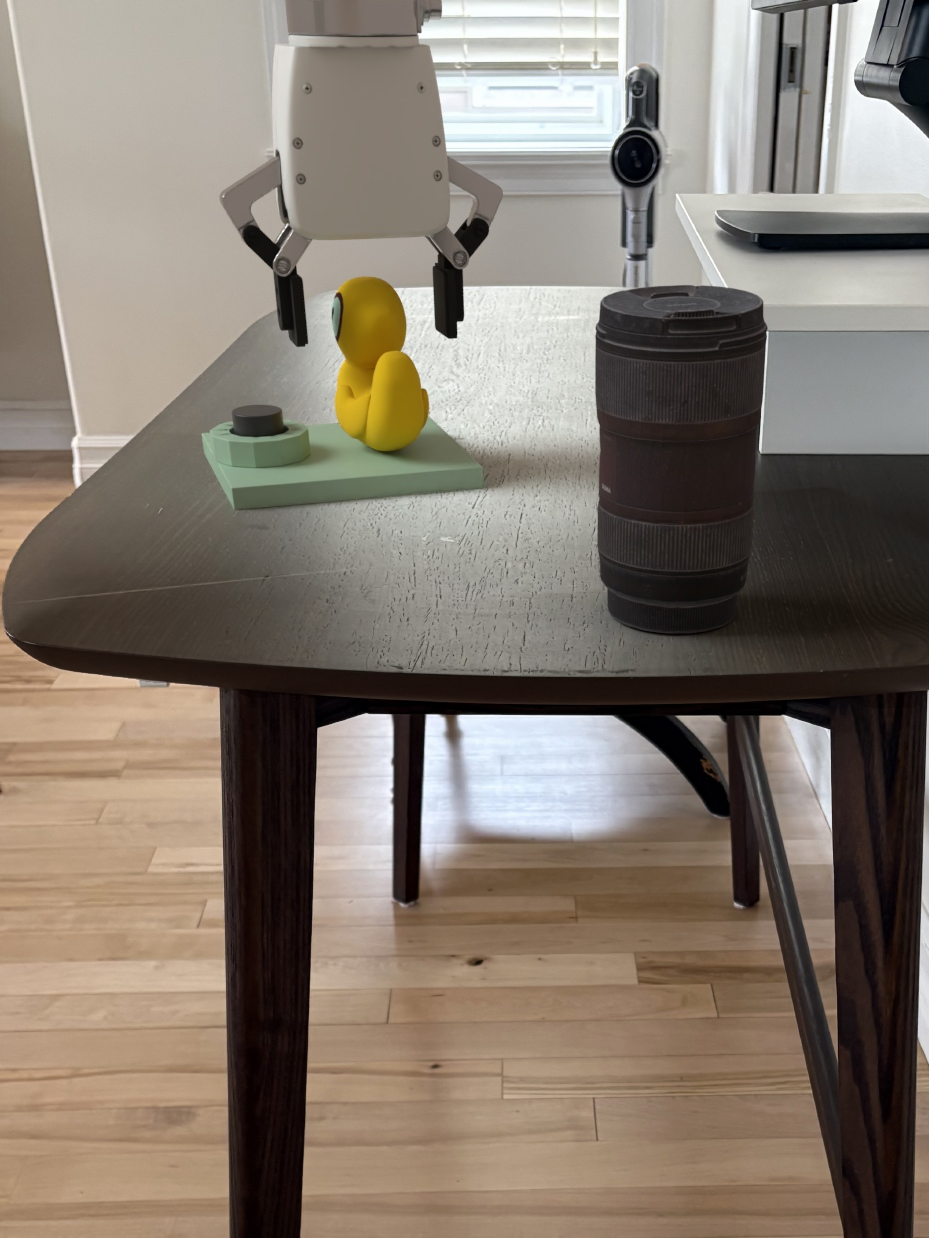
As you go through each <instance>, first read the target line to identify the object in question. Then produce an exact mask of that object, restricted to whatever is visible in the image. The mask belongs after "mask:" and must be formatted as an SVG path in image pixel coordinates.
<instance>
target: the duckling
mask: <svg viewBox="0 0 929 1238" xmlns="http://www.w3.org/2000/svg"><path fill="white" fill-rule="evenodd" d="M331 327H332V331H333V335H334V339H335V341H336V343H337V346H338V348H339V350H340V351H341V353H342V355H343V357H344V361H343V362H342V364H341V365H340V368H339V371H338V374H337V379H336V391H335V395H334V411H335V416H336V419H337V423H339V424H340V426H341V428H342V429H343V430H344V431H345V432H346V433H347V434H348V435H349V436H350V437H352V438H354V439H358V440H359V441H360V442H362V443H364V444H365V445H367V446H369V447H371V448H373V449H375V450H379V451H395V450H399V449H403V448H405V447H407V446H408V445H410V444H411V443H413V442H414V441H415V440H416V439H417V437H418V436H419V434H420V432H421V430H422V429H423V427H424V426H425V424H426V422H427V419H428V416H429V414H430V399H429V394H428V391H427V389H426V388H423V387H422V384H421V377H420V374H419V372H418V369H417V367H416V365H415V363H414V361H413V359H412V358H411V357H410V356H409V355H408V354H407V353H405V352H403V351H402V350H403V348H404V344H405V342H406V336H407V317H406V311H405V308H404V304H403V302H402V300H401V298H400V296H399V294H398V292H397V290H396V289H395V288H394V287H393V285H391V284H390V283H389V282H387V281H386V280H384V279H382V278H380V277H376V276H357V277H356V276H355V277H352V278H350V279H348V280H346V281H345V282H343V283H342V284H341V285H340V286H339V288H338V289H337V291H336V292H335V295H334V297H333V301H332V305H331Z"/></svg>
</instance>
